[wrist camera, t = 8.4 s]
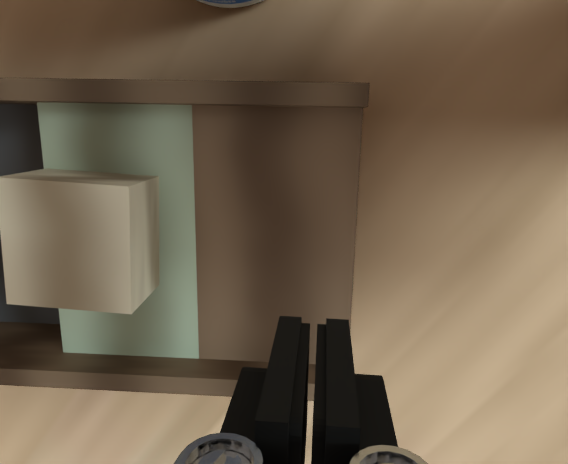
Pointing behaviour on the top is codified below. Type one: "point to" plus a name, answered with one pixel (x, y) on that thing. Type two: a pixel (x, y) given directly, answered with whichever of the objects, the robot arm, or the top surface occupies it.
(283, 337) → the robot arm
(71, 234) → the birch block
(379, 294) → the top surface
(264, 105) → the lane deck
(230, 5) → the supplement tub
